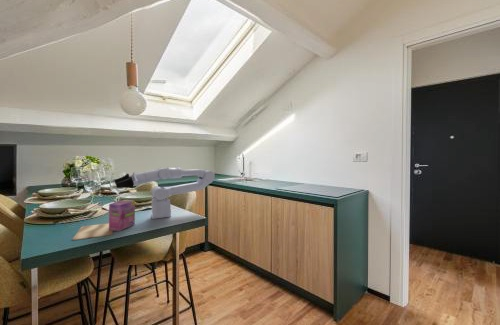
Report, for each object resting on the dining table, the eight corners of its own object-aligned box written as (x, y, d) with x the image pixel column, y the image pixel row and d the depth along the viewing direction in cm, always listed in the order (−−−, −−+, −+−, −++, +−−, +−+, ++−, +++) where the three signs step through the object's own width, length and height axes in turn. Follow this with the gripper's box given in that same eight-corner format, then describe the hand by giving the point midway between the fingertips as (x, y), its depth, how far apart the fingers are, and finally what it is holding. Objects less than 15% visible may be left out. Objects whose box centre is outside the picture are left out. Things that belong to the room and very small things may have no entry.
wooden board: (115, 223, 121) (115, 222, 121) (111, 235, 105) (111, 234, 105) (81, 227, 116) (81, 226, 116) (72, 240, 99) (72, 239, 99)
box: (119, 231, 109) (119, 204, 108) (108, 229, 110) (108, 203, 110) (135, 224, 119) (135, 200, 119) (124, 223, 120) (125, 199, 120)
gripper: (140, 167, 133) (112, 173, 126) (146, 172, 121) (115, 179, 114) (143, 180, 134) (115, 186, 127) (148, 186, 122) (118, 193, 115)
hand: (115, 183), depth 121 cm, fingers open, 7 cm apart
